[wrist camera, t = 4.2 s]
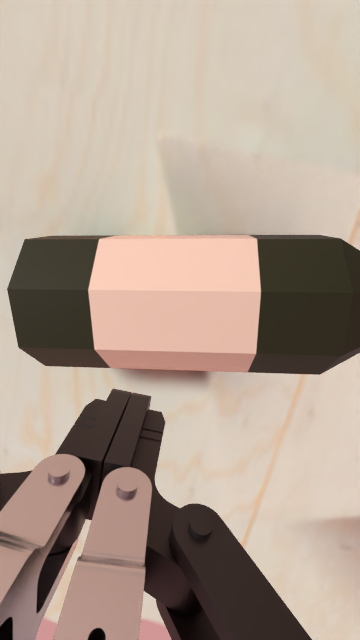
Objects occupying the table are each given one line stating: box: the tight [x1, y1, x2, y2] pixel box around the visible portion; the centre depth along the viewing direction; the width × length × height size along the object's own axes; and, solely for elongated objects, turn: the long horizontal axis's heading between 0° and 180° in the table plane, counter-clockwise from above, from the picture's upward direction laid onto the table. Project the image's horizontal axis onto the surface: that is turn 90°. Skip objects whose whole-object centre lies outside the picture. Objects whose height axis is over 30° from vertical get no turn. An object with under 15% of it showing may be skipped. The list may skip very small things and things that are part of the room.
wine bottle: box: [7, 235, 360, 374], centre depth 18 cm, size 8×8×30 cm
